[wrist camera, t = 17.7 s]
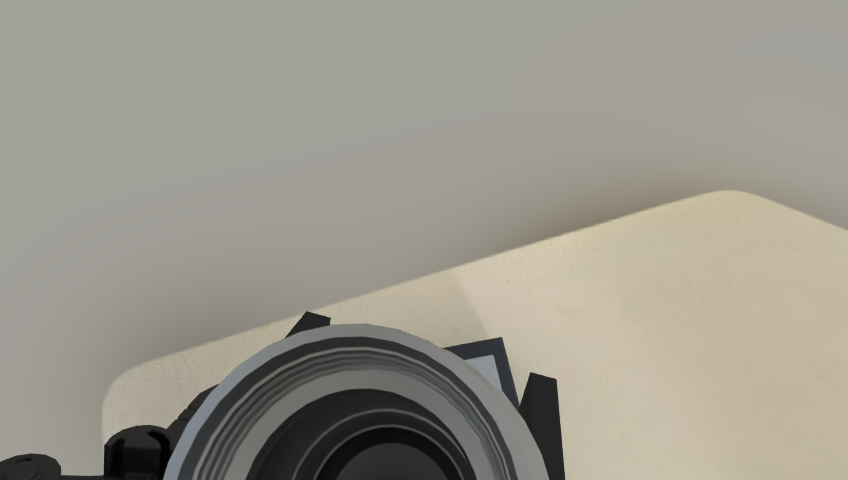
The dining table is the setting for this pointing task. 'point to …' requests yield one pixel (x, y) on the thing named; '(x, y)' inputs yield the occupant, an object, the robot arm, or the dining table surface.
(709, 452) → the dining table surface
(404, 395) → the silver aluminium bottle
